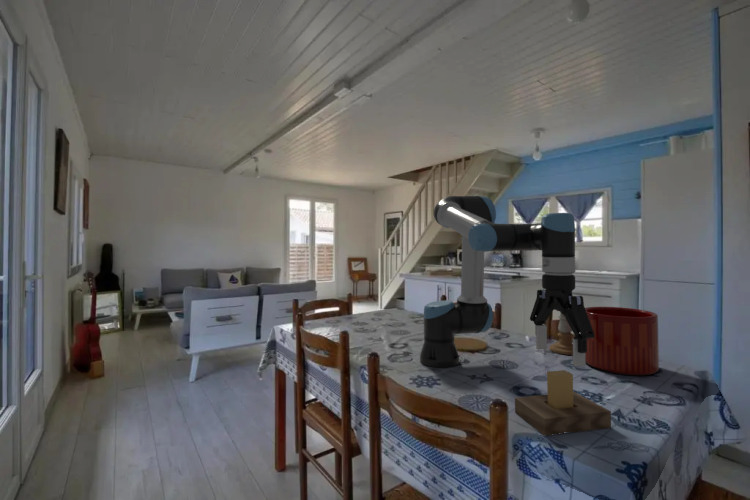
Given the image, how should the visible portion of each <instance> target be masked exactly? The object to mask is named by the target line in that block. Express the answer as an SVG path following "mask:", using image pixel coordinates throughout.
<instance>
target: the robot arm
mask: <svg viewBox="0 0 750 500" xmlns="http://www.w3.org/2000/svg"><path fill="white" fill-rule="evenodd" d="M433 218H434V219H435V222H436V224H438V225H440V226H441V227H443V228H446V229H452V230H453V231H455V232H456V233H458V234H460V235H461V272H460V273H461V280H460V283H461V285H460V295H459V296H458V297H457V298H456V303H455V302H453V300H436V301H432V302H429V303H427V304H425V305H424V308H423V316H422V317H423V336H424V338H423V345H422V348H421V352H420V355H419V362H420V363H421V364H423V365H424V366H428V367H433V368H443V369H444V368H451V367H455V366H456V367H457V366H458V365H459V364H460V355H459V352H458V349H457V347H456V343H455V335H462V334H463V335H464V334H479V333H485V332H488V331H489V330H490V329H491V326H492V324H493V322H494V321H493V320H494V312H493V308H492V306H491V304H490V303H488V299H487V298H486V296H485V295H484V291H485V289H484V286H485V285H484V284H485V283H484V282H485V280H484V279H485V253H487V252H504V251H505V252H507V251H508V252H509V251H514V252H515V251H516V252H518V251H523V252H524V251H525V252H527V251H529V252H531V251H541V266H542V267H541V271H542V272H543V273H544V274H542V275H541V287H542V289H537V290H536V299H535V301H534V304H533V308H532V311H531V313H530V316H529V320H530V321H531V322H533V324H534V325H535V336H536V337H535V343H536V344H535V346H536V350H538V351H539V350H547V349H548V346H547V345H548V340H547V339H548V335H547V334H548V330H547V329H548V327H547V320H548V319H549V317H550V316H551V314H553V311H554V310H555V311H557V312H561V313H562V314H563V315H564V316H565V318H566V320H567V322H568V324H569V325H570V327H571V329H572V334H573V337H572V344H573V355H572V366H574V367H585V366H586V362H585V353H586V352H587V339H588V338H594V337H595V335H594V332H593V329H592V326H591V324H590V321H589V318H588V315H587V313H586V310H585V308H586V307H585V303H584V297H583V296H582V295H573V291H574V290H575V289H576V276H575V275H574V274H575V273H576V231H577V230H576V225H575V223H576V222H575V216H574V215H573V213H570V212H553V213H551V212H550V213H545V214H543V215H542V216H541V220H540V222H539V223H538V222H537V223H495V222H496V219H497V211H496V206H495V204H494V202H493V201H492V199H491V198H490V197H487V196H481V195H464V196H463V195H451V196H445V197H444V198H442V199H440V200H439V201H438V202H437V203H436V205H435V207H434V209H433ZM568 308H569V309H568ZM587 332H588V333H587Z"/></svg>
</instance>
